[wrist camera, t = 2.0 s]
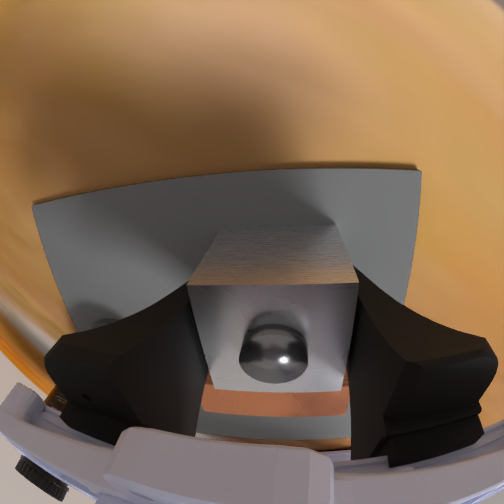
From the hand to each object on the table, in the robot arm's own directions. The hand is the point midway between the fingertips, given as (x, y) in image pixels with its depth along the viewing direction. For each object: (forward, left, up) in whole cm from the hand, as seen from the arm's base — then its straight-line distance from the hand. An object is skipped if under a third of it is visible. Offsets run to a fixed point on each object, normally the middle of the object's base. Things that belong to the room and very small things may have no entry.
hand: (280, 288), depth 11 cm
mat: (-5, +4, -1) cm, 7 cm away
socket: (0, 0, -1) cm, 1 cm away
